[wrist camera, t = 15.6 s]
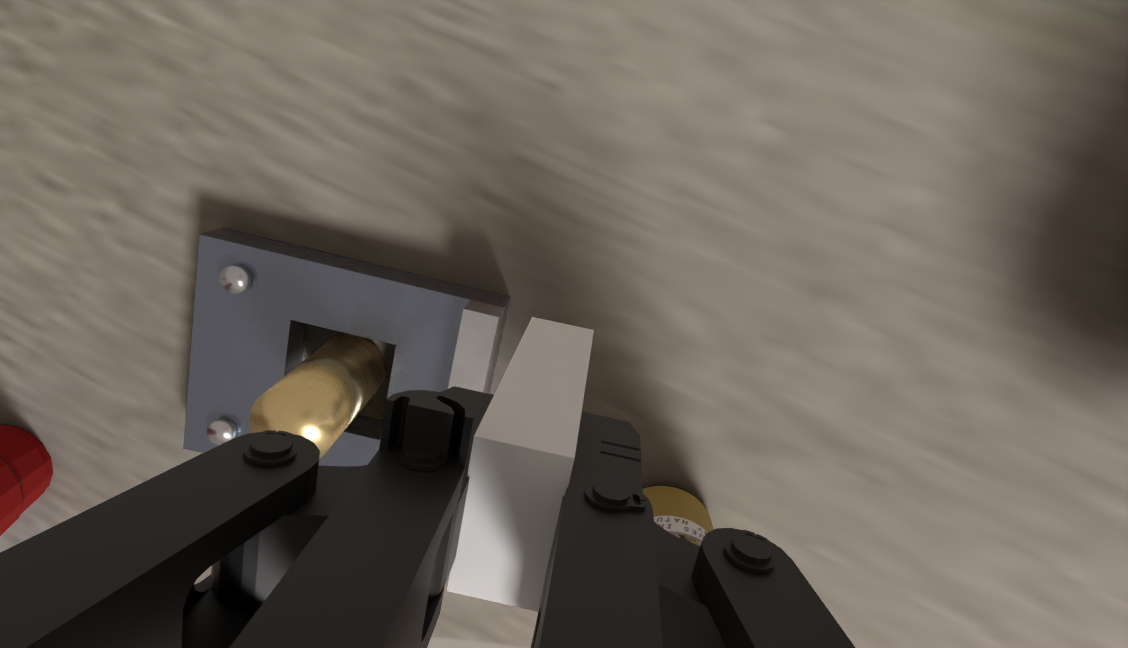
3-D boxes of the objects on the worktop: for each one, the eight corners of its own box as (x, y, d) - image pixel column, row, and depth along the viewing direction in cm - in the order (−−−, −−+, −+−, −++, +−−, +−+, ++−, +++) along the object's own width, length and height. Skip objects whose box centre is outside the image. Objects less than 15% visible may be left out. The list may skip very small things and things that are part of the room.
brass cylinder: (390, 342, 43) (337, 398, 35) (380, 405, 45) (327, 473, 36) (322, 327, 43) (252, 379, 35) (314, 390, 45) (245, 455, 36)
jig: (510, 297, 42) (498, 317, 38) (467, 493, 46) (453, 532, 42) (222, 227, 42) (178, 240, 38) (205, 431, 46) (163, 463, 42)
